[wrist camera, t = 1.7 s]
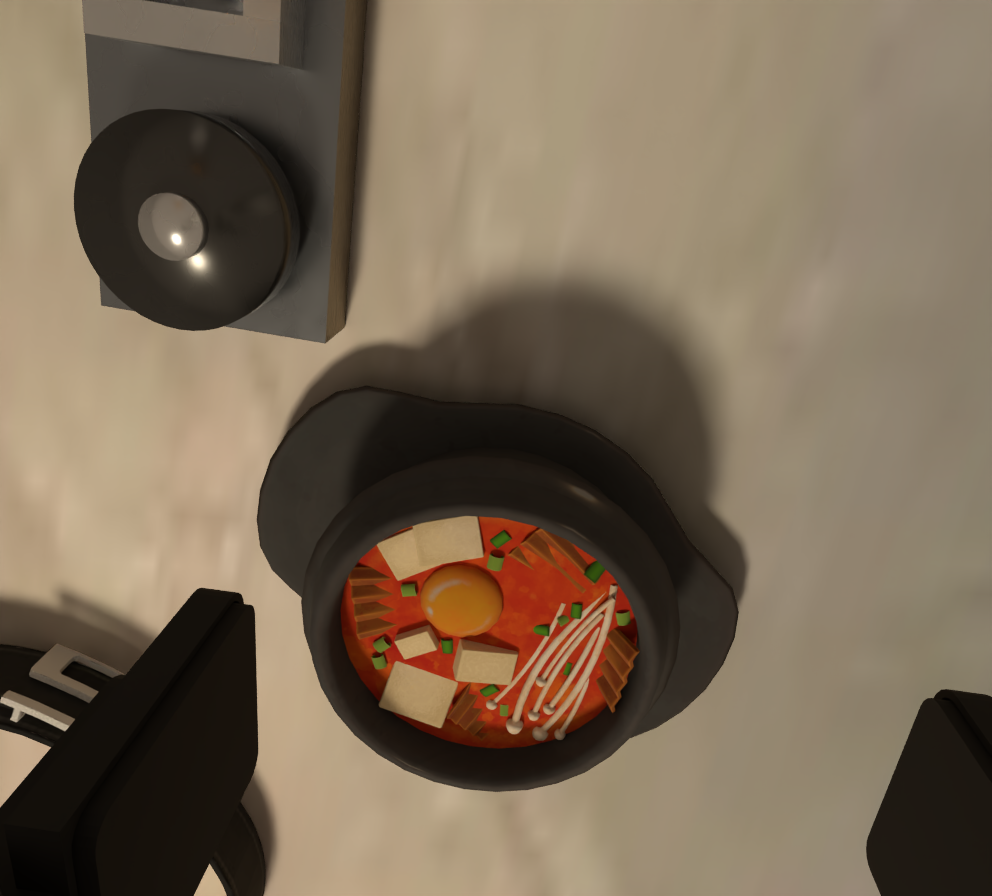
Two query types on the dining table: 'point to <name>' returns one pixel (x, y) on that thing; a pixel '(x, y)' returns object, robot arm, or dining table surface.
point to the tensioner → (223, 160)
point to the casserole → (487, 586)
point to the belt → (58, 702)
